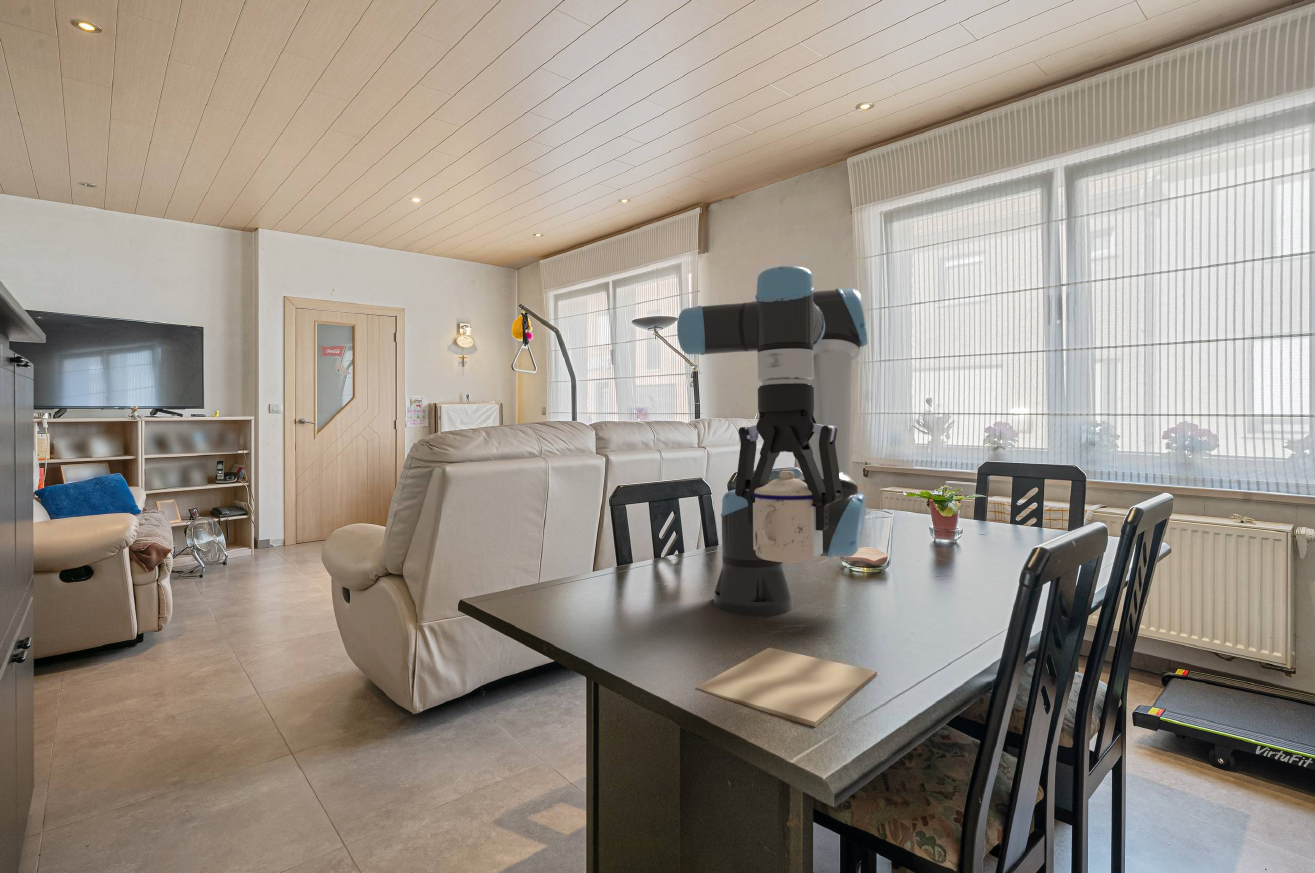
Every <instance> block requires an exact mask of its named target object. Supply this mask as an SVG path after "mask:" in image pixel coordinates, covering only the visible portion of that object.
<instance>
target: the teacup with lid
mask: <svg viewBox="0 0 1315 873" xmlns="http://www.w3.org/2000/svg"><path fill="white" fill-rule="evenodd" d="M778 476H779V478H775V479H773V480H771V481H768V483H767V485H765V486H762V487H759V488H757V489H755V491H754V494H753V496H754V497H755V533H756V555H757V556H758V557H759V558H761V559H764V560H769V561H776V562H783V563H805V562H813V561H815V560H818V559H819V558H821V556H820V555H817V556H815V557H812V556H811V507H812V503H814V502H813V500H812V499H813V496H811V495H812V493H811V491H809V489H808V487H807V484H806V483H805V482H803V481H802V480H799V478H795V472H794V471H792V470H781V471H779V474H778Z"/></svg>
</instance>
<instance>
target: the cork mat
mask: <svg viewBox="0 0 1315 873" xmlns="http://www.w3.org/2000/svg"><path fill="white" fill-rule="evenodd" d="M877 676H878V671H877V670H873V669H869V668H865V667H864V668H863V667H860V666H859V667H858V666H855V665H852V664H851V665H850V664H845V663H843V662H842V663H841V662H836V661H832V660H829V659H828V660H827V659H823V658H817V657H815V656H814V657H813V656H809V655H805V654H801V653H795V652H792V651H787V650H783V649H777V648H775V647H767V648H765V649H764V650H762V651H760V652H758V653H756V654H754V655H753V656H751V657H749V658H747V659H746V660H744V661H742V662H740V663H738V664H736V665H734V666H732V667H731V668H728V669H727V670H725V671H723V672H722V673H719V674H718V675H716V676H714V677H712V678H710V679H709V680H706V681H705V682H703V683H701V684H699V685H698V686H696V687H695V690H698V691H701V692H704V693H707V694H710V695H714V696H716V697H719V698H723V699H726V700H728V701H731V702H735V703H738V704H740V705H744V706H747V707H749V708H754V709H756V710H759V711H762V712H766V713H769V714H772V715H775V716H779V717H781V718H784V719H787V720H790V721H794V722H796V723H797V722H798V723H801V724H804V725H807V726H811V727H814V728H816V727H818V726H819V725H820V724H821V723H822V722H823V721H825V719H827V718H828V717H829V716H830V715H831V714H833V713H834V712H835V711H837V710H838V709H839V708H840V707H841V706H842V705H844V704H845V703H846V702H847V701H849V699H851V698H852V697H853V696H854V695H855V694H857V693H858V692H859V691H860V690H861V689H863V688H864V687H865V686H867V684H869V683H870V682H871V681H872V680H874V679H875V678H876V677H877Z"/></svg>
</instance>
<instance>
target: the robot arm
mask: <svg viewBox="0 0 1315 873" xmlns="http://www.w3.org/2000/svg"><path fill="white" fill-rule="evenodd" d="M756 281H757V283H756V294H755V300H753V301H749V302H741V303H739V302H738V303H726V304H714V305H713V304H711V305H703V306H702V305H698V306H694V307H687V308H686V307H685V308H684V309H683V310H681V311H680V313H679V315H678V317H677V318H678V319H677V324H676V327H677V328H676V331H677V340H678V344H679V346H680V349H681V350H682V352H684V354H687V355H700V356H704V355H713V354H715V355H716V354H728V353H739V352H742V353H743V352H745V353H747V352H757V381H758V382H760V383H761V385H759V386H758V388H757V411H758V414H759V416H758V421H757V422H756V424H755V425H751V426H740V427H739V428H738V436H739V441H740V447H739V455H738V456H739V458H738V465H737V473H736V480H735V483H736V484H735V489H732V490H728V491H726V492H725V494H723V497H722V500H721V513H720V517H721V549H722V551H721V553H722V554H721V556H722V562H721V564H722V567H721V569H720V573H719V575H718V576H719V577H718V579H717V583H716V585H715V589H714V593H713V605H714V606H715V607H716V608H717V609H719V610H722V611H725V612H728V613H731V614H737V615H740V616H741V615H744V616H755V617H764V616H765V617H766V616H767V617H768V616H775V615H776V616H777V615H782V614H784V613H788V612H790V611H792V609H793V594H792V590H791V587H790V584H789V582H788V579H787V575H786V573H785V569H784V566H783V565H784V564H783V563H784V562H776V561H769V560H764V559H761V558H759V557H758V556H757V555H756V533H755V497H754V496H753V494H754V491H755V489H757V488H759V487H762V486H765V485H767V484H768V483H769V479H770V477H771V474H772V471H773V468H774V466H775V463H776V460H777V459H778V457H780V453H785V452H787V453H792V454H793V457H794V458H795V459H796V460H797V463H798V466H799V468H800V471H801V473H802V475H801V476H800V477H799V478H798V479H799V480H802V481H803V482H805V483H806V484H807V487H808V489H809V491H811V493H812V495H811V496H813V499H812V500H813V502H814V503H812V507H811V556H812V557H815V556H817V555H820V557H828V558H831V559H833V558H850V557H853V556H854V555H856V554H857V552H858V551H859V549H860V546H861V542H862V537H863V532H864V526H865V519H866V507H867V506H866V504H867V501H866V500H867V498H866V496H865V495H864V494H863V493H858V491H859V488H858V484H857V483H856V482H855V481H854V480H853V479H852V478H851V475H850V473H851V472H850V470H851V468H850V466H851V465H850V464H851V463H850V462H851V418H852V417H851V415H852V414H851V413H852V410H851V408H852V404H851V403H852V366H853V364H852V363H853V362H854V361H855V360H856V359H857V358H858V357H859V356H860V353H861V352H860V351H861V347H863V348H864V347H866V346H867V345H868V344H869V341H868V334H867V327H866V320H865V313H864V312H865V311H864V306H863V299H862V295H861V292H860V291H859V290H858V289H856V288H842V289H841V288H840V287H839V288H838V287H837V288H835V289H832V290H830V289H829V290H828V289H827V290H820V291H815V288H814V285H813V274H812V272H811V271H810V269H808V268H806V267H803V266H797V265H785V266H776V267H771V268H767V269H765V270H764V271H761V272H760V273H759V275H758V276H757V279H756ZM759 435H760V437H761V439H762V440H763V443H762V446H761V448H760V451H759V459H758V462H757V464H756V467H755V462H756V454H757V443H758V442H757V441H758V439H759Z"/></svg>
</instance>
